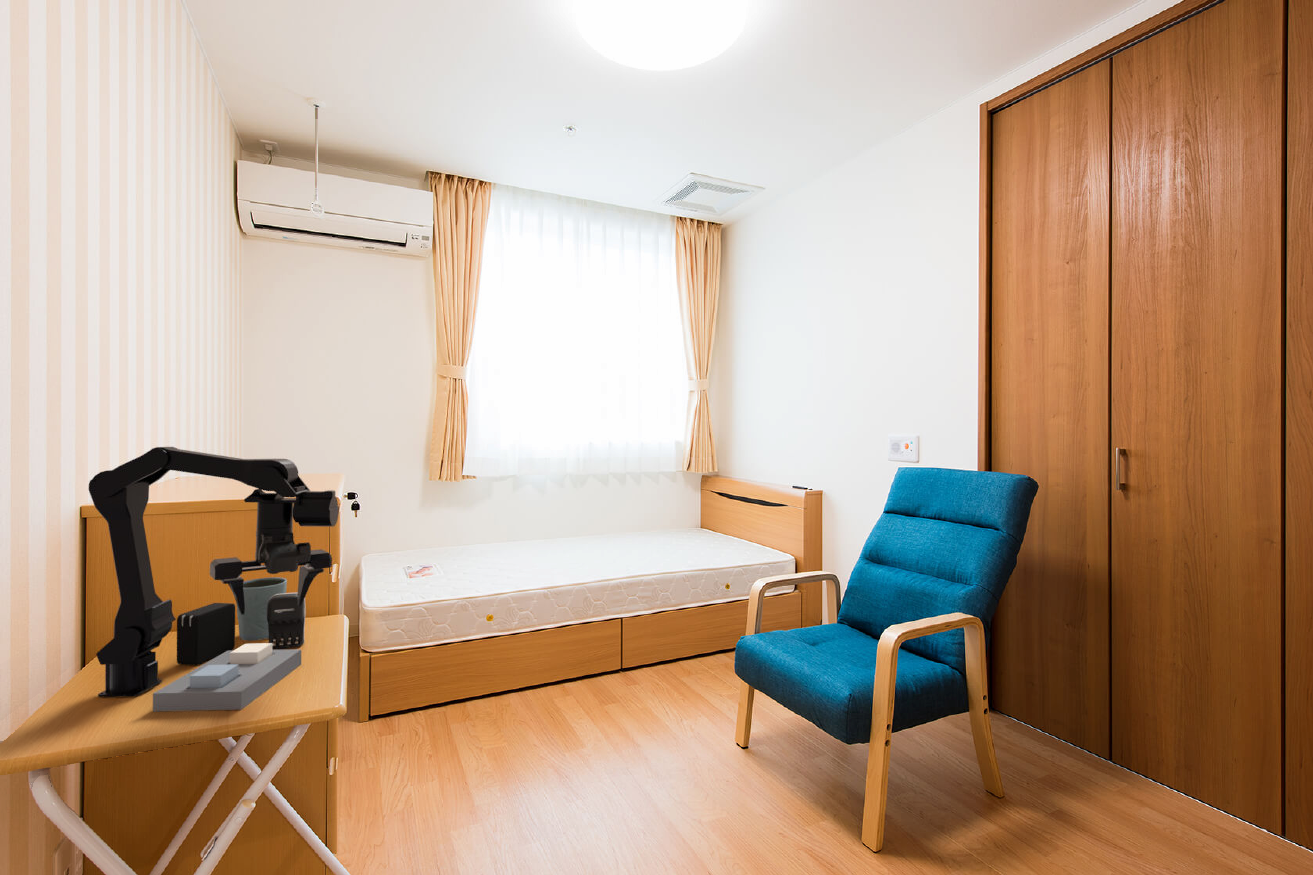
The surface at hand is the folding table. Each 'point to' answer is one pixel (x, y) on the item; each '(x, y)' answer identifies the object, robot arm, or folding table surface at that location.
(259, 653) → the ivory key
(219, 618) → the electronic device
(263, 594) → the teal cup
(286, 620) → the battery charger
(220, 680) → the slate key
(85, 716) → the folding table surface
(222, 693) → the key panel
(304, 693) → the folding table surface
